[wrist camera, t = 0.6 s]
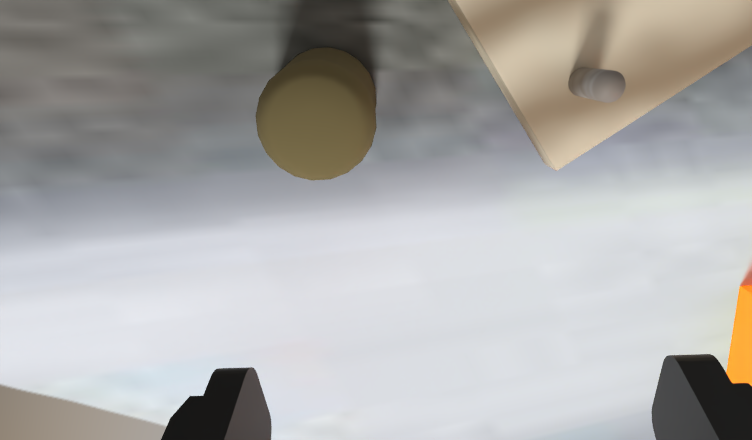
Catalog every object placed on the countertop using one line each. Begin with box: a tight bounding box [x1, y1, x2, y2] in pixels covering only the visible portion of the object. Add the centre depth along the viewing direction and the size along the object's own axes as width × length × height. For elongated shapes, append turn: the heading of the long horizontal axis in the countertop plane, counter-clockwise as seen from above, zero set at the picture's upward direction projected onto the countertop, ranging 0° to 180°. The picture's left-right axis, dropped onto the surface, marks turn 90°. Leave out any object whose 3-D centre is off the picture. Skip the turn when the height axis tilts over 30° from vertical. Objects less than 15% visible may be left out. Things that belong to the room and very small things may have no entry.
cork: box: [256, 47, 376, 180], centre depth 28 cm, size 6×6×11 cm
